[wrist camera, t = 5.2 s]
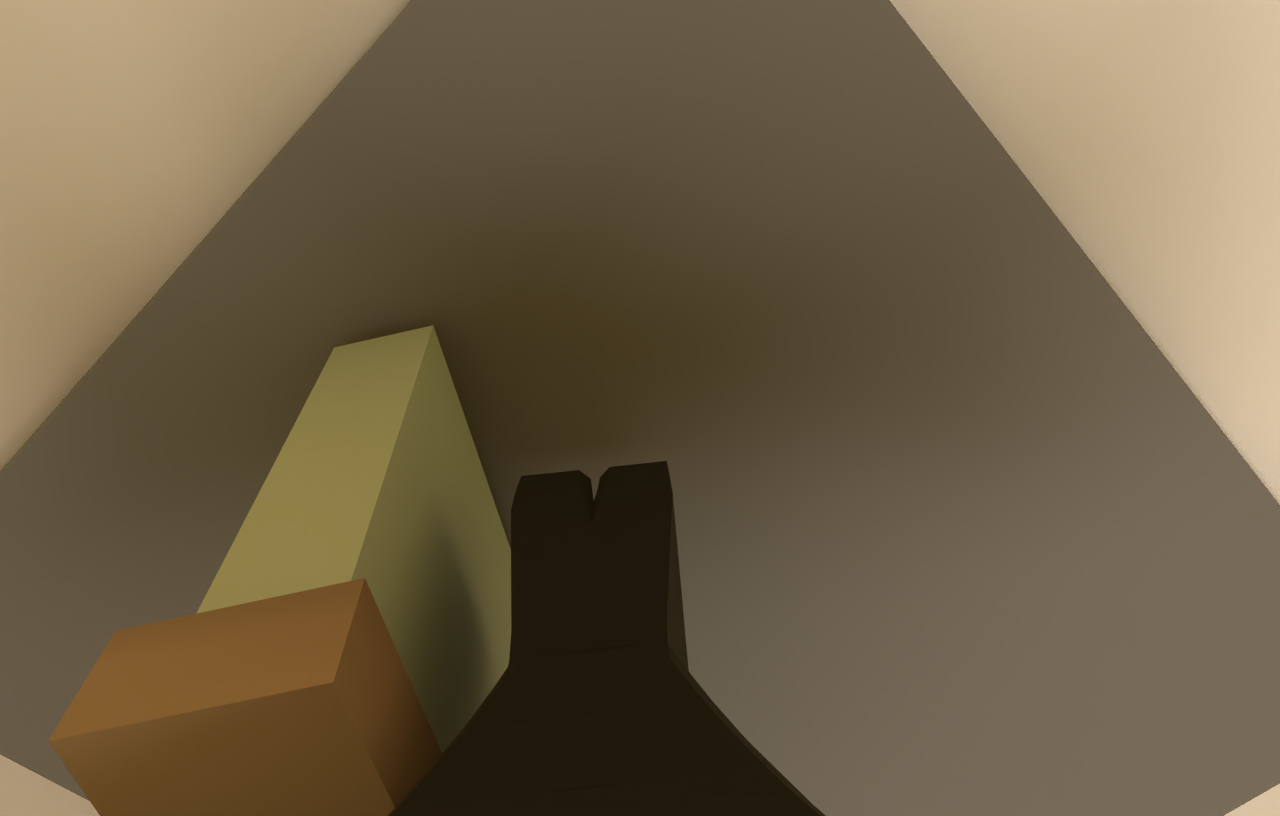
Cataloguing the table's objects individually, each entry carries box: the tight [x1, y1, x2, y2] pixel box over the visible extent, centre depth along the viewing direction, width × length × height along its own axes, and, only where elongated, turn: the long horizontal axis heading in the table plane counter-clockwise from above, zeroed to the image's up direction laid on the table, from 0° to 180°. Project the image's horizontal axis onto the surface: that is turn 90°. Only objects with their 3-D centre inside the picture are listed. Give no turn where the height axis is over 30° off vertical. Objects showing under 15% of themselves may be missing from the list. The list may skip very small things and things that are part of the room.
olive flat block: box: [48, 325, 511, 816], centre depth 11 cm, size 10×2×6 cm, turn 12°
